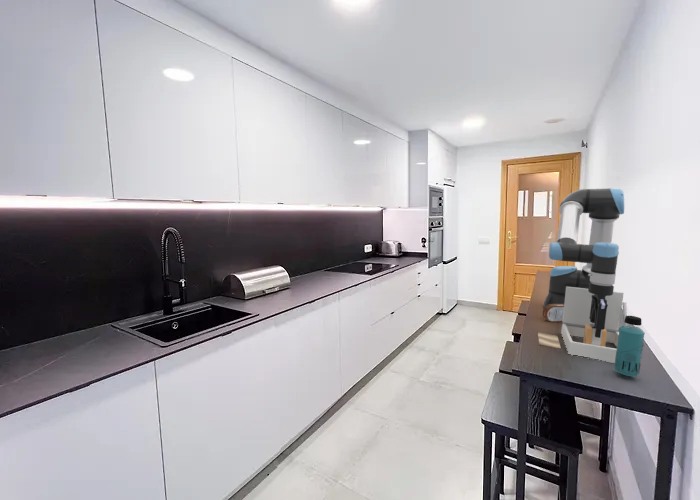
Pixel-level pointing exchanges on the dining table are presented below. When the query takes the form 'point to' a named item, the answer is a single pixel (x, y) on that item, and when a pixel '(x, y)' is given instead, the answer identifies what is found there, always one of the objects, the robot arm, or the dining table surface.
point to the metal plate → (548, 340)
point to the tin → (553, 312)
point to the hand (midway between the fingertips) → (594, 341)
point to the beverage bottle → (629, 347)
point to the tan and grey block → (588, 335)
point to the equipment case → (578, 316)
